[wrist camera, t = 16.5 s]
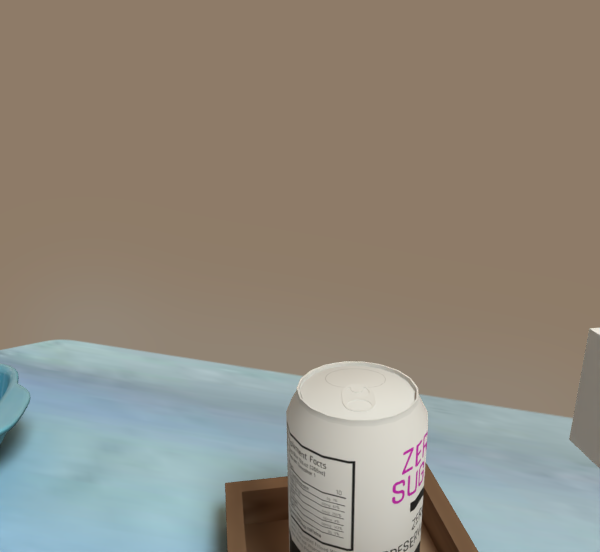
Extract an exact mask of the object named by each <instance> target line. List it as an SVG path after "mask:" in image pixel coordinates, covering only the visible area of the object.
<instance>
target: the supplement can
mask: <svg viewBox="0 0 600 552" xmlns="http://www.w3.org/2000/svg"><path fill="white" fill-rule="evenodd" d="M286 413H287V461H288V510H289V552H420V539H421V524H422V508H423V493H424V477H425V462H426V447H427V431H428V411H427V410H426V408H425V406H424V404H423V402H422V400H421V398H420V396H419V394H418V387H417V386H416V385H415V383H414V382H413V380H412V379H411V378H410V377H408V376H407V375H405V374H403V373H402V372H400V371H398V370H396V369H393V368H390V367H387V366H384V365H381V364H375V363H368V362H338V363H333V364H327V365H324V366H321V367H318V368H316V369H313V370H311V371H310V372H308V373H307V374H306V375H304V376H303V377H302V378H301V379H300V381H299V384H298V386H297V390H296V392H295V394H294V396H293V397H292V399H291V402H290V404H289V406H288V409H287V411H286Z"/></svg>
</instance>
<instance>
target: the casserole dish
mask: <svg viewBox="0 0 600 552" xmlns="http://www.w3.org/2000/svg"><path fill="white" fill-rule="evenodd" d="M29 401H30V393H29V392H28V390H27V389H25V388H24V387H22V386H21V385H19V384H18V372H17V371H16V370H15V369H14V368H12V367H11V366H8V365H5V364H0V444H1V442H2V441H3V438H4V436H5V434H6V432H8V431H9V430H11V429H12V428H13V427H14V426H15V425H16V423H17V422H18V421H19V419H20V418H21V416H22V415H23V413H24V411H25V410H26V408H27V406H28V404H29Z"/></svg>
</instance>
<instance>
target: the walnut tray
mask: <svg viewBox="0 0 600 552" xmlns="http://www.w3.org/2000/svg"><path fill="white" fill-rule="evenodd" d="M225 492H226V520H227V549H228V552H289V510H288V476H287V477H278V478H268V479H259V480H250V481H240V482H231V483H225ZM420 552H478V550H477V549H476V547H475V545H474V544H473V542H472V540H471V538H470V537H469V535H468V533H467V532H466V530H465V528H464V527H463V525H462V523H461V521H460V520H459V518H458V516H457V515H456V513H455V511H454V510H453V508H452V506H451V504H450V503H449V501H448V499H447V498H446V496H445V494H444V493H443V491H442V489H441V487H440V486H439V484H438V482H437V481H436V479H435V477H434V475H433V474H432V472H431V470H430V469H429V467H428V465H427V464H426V462H425V477H424V493H423V508H422V524H421V539H420Z"/></svg>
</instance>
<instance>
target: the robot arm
mask: <svg viewBox="0 0 600 552" xmlns="http://www.w3.org/2000/svg"><path fill="white" fill-rule="evenodd" d="M569 440H570V441H571V442H572V443H574V444H575V445H576V446H577V447H578V448H579V449H580V450H581V451H582V452H583V453H584V454H585V455H586V456H587V457H588V458H589V459H590V460H591V461H592V462H593V463H595V464H596V465H597V466H598V467H599V468H600V328H593V329H592V328H591V329H589V334H588V339H587V345H586V350H585V356H584V361H583V367H582V372H581V378H580V383H579V389H578V394H577V400H576V405H575V411H574V416H573V422H572V427H571V433H570V438H569Z"/></svg>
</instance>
